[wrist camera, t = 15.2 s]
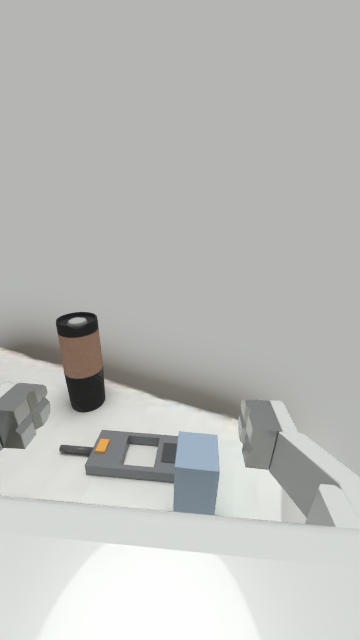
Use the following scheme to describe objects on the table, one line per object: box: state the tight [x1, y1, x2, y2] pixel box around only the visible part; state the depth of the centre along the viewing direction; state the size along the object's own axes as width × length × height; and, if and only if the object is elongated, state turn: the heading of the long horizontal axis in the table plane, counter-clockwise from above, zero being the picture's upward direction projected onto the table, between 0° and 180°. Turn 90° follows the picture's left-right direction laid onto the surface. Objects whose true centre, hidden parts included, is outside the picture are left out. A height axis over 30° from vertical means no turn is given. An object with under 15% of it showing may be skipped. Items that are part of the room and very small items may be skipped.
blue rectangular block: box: [173, 431, 220, 515], centre depth 29 cm, size 5×5×14 cm
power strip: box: [59, 430, 178, 483], centre depth 40 cm, size 26×7×2 cm, turn 86°
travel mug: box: [56, 312, 105, 412], centre depth 50 cm, size 8×8×20 cm
